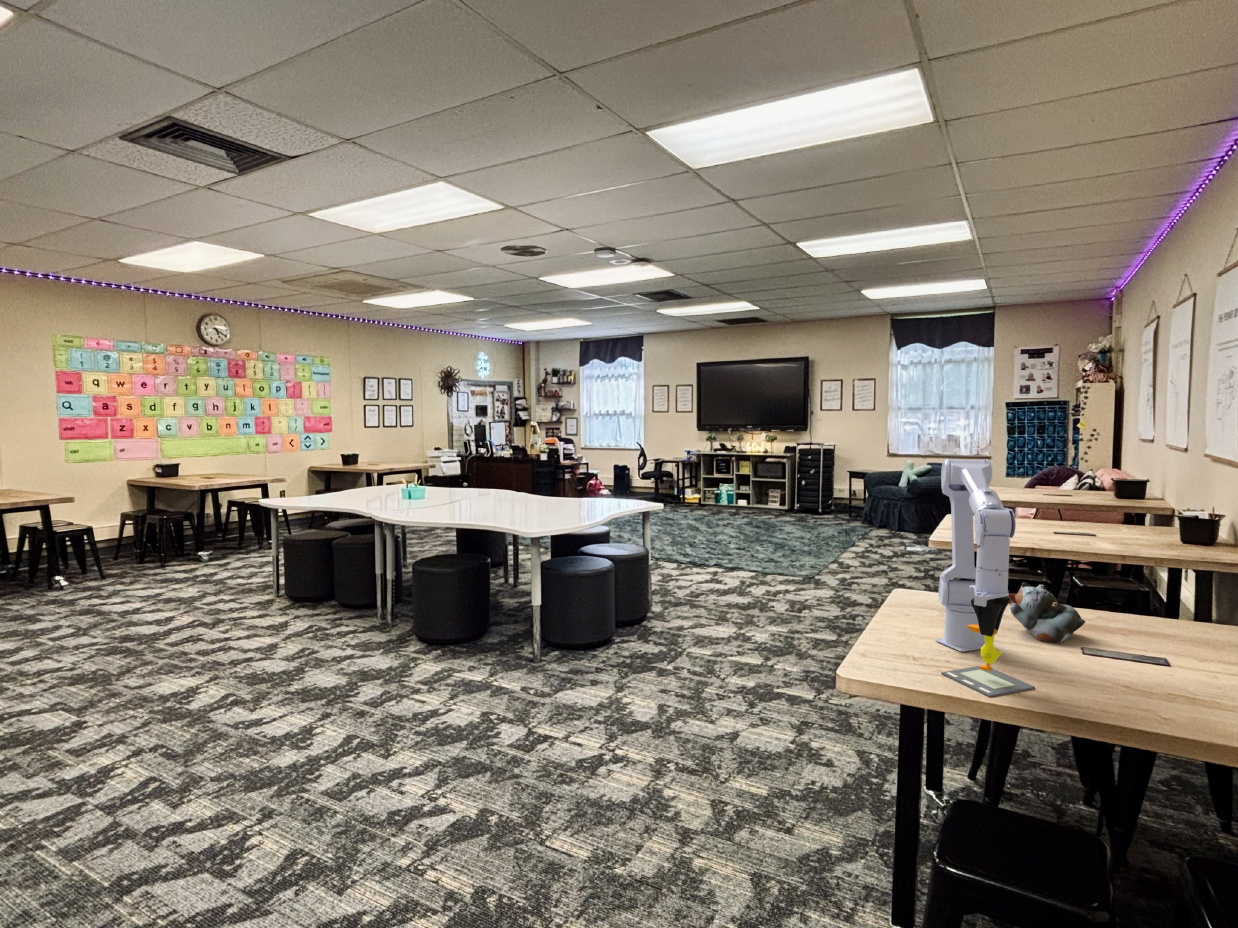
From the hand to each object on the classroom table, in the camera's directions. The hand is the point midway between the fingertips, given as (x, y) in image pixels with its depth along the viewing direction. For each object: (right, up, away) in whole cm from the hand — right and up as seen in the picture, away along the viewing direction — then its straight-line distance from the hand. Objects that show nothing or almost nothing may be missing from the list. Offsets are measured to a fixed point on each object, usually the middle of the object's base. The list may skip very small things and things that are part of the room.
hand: (989, 633), depth 137 cm
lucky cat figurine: (+29, -8, +29) cm, 42 cm away
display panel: (0, -10, +1) cm, 10 cm away
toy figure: (0, -8, +1) cm, 8 cm away
